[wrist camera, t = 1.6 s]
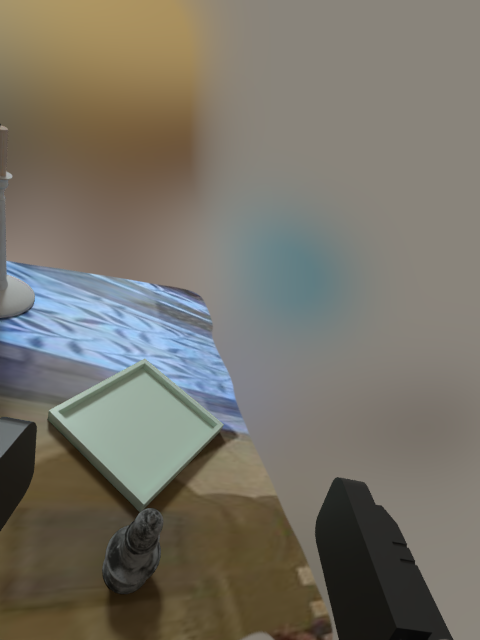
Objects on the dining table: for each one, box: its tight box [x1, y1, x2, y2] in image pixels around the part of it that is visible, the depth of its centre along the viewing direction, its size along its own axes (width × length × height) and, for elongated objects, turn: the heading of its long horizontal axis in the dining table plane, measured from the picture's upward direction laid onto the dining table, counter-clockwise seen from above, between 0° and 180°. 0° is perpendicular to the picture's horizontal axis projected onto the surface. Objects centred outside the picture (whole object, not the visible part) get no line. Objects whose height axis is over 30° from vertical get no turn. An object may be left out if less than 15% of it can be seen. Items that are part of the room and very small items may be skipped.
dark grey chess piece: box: [102, 508, 163, 594], centre depth 38 cm, size 6×6×12 cm
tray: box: [47, 359, 224, 512], centre depth 55 cm, size 19×19×2 cm
